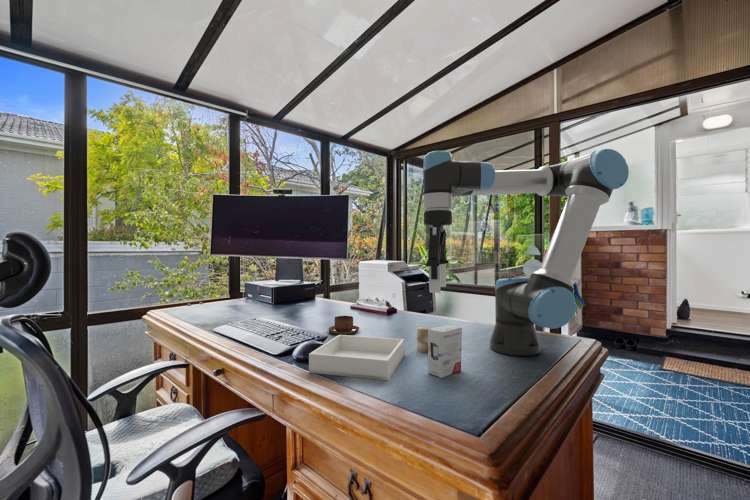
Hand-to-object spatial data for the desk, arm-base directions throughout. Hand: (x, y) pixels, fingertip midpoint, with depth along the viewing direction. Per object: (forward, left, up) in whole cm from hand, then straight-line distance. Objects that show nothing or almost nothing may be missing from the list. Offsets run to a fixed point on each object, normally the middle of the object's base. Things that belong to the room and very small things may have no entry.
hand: (438, 289), depth 95 cm
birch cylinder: (+6, -18, -22) cm, 29 cm away
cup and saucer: (+40, -33, -22) cm, 57 cm away
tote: (+22, 0, -22) cm, 31 cm away
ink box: (-2, +1, -22) cm, 22 cm away
